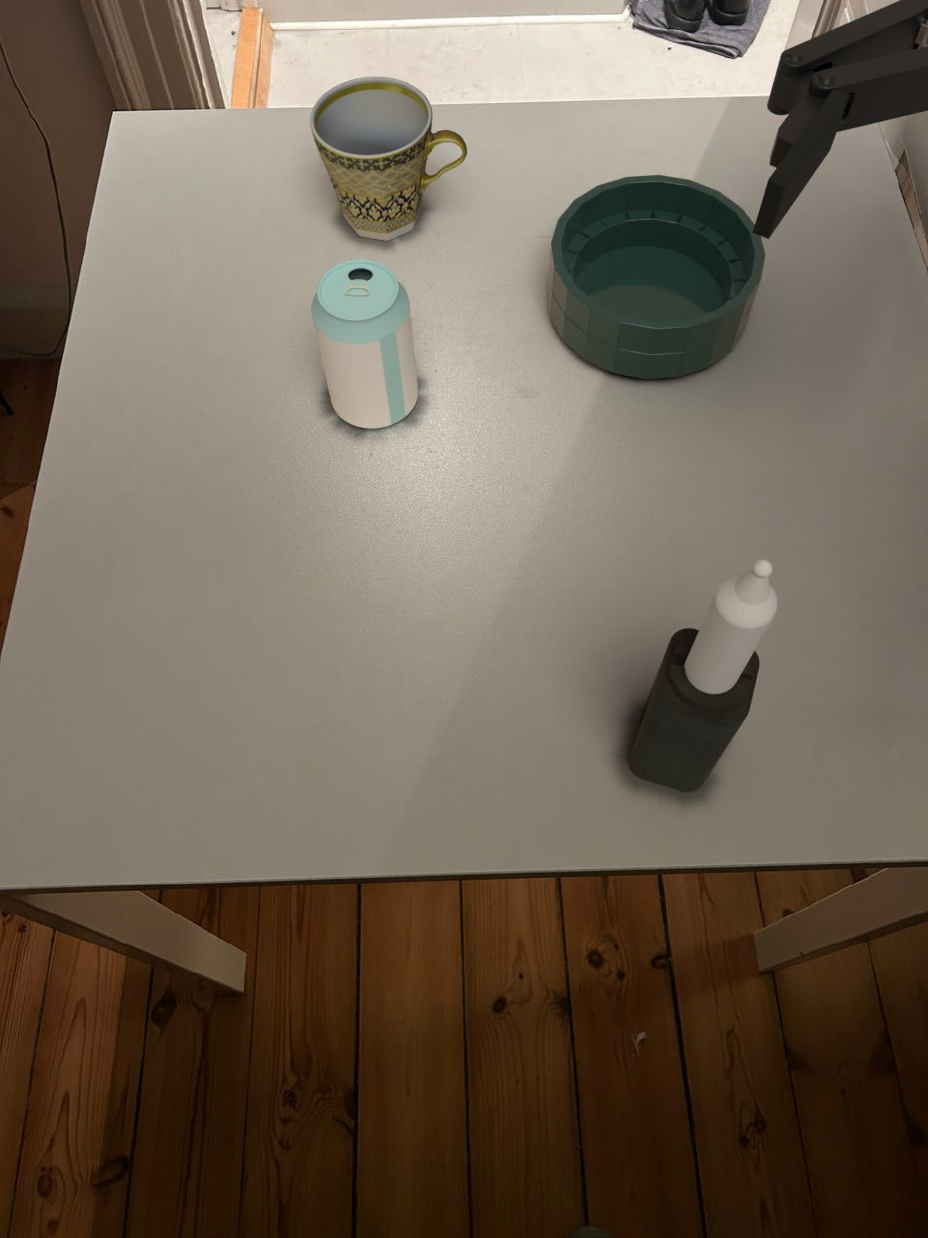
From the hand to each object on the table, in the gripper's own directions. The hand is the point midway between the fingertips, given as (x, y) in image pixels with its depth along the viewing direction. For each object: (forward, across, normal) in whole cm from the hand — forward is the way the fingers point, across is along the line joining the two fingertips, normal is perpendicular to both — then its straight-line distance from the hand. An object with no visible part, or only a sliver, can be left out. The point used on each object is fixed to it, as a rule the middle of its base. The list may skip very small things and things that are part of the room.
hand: (925, 273), depth 39 cm
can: (-4, +34, -34) cm, 48 cm away
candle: (+10, 0, -34) cm, 36 cm away
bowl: (-24, +20, -34) cm, 46 cm away
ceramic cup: (-22, +44, -34) cm, 60 cm away
